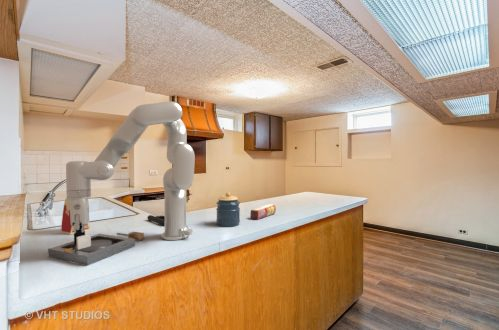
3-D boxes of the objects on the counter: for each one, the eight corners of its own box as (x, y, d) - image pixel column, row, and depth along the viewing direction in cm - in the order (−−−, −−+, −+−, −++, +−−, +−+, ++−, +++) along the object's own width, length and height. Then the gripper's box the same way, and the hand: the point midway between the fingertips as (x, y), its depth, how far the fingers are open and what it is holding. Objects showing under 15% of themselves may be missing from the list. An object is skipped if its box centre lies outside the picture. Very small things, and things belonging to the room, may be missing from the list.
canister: (225, 228, 128) (225, 194, 127) (211, 223, 138) (211, 192, 137) (244, 224, 136) (244, 192, 136) (230, 220, 146) (230, 190, 146)
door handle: (170, 212, 156) (145, 215, 144) (188, 218, 142) (161, 221, 130) (170, 218, 156) (144, 221, 144) (187, 223, 142) (161, 227, 130)
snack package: (258, 220, 145) (258, 209, 145) (249, 219, 149) (249, 208, 149) (276, 214, 163) (276, 204, 163) (267, 213, 167) (267, 203, 166)
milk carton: (90, 230, 124) (90, 190, 124) (70, 235, 116) (70, 192, 116) (79, 227, 128) (78, 189, 128) (59, 232, 120) (58, 191, 119)
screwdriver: (143, 239, 110) (143, 232, 110) (139, 241, 108) (139, 234, 108) (119, 235, 115) (119, 229, 115) (114, 237, 113) (114, 231, 112)
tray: (134, 246, 101) (134, 237, 101) (87, 265, 82) (87, 255, 82) (99, 240, 108) (99, 232, 108) (48, 257, 89) (48, 247, 89)
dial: (100, 241, 103) (100, 227, 103) (118, 246, 97) (118, 231, 97) (68, 250, 93) (68, 234, 93) (86, 256, 87) (86, 239, 87)
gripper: (88, 196, 88) (89, 247, 88) (92, 191, 101) (93, 236, 101) (62, 197, 84) (63, 251, 85) (70, 192, 98) (71, 238, 98)
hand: (79, 242), depth 93 cm, fingers closed
